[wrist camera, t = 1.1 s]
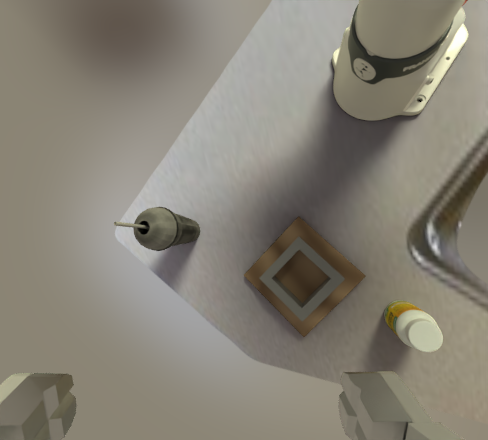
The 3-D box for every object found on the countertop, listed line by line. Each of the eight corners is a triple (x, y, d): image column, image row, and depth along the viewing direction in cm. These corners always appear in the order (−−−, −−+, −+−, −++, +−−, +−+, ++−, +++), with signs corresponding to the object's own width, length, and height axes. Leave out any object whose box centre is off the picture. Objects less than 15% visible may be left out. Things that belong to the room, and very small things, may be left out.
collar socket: (298, 217, 48) (297, 214, 43) (364, 274, 45) (370, 279, 40) (245, 274, 50) (238, 278, 45) (304, 334, 46) (303, 345, 42)
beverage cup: (200, 253, 53) (135, 261, 33) (170, 241, 55) (92, 243, 35) (211, 219, 53) (152, 208, 33) (180, 209, 55) (109, 192, 35)
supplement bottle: (424, 329, 42) (456, 354, 33) (389, 335, 43) (411, 362, 34) (412, 296, 43) (440, 312, 33) (378, 303, 44) (396, 320, 35)
